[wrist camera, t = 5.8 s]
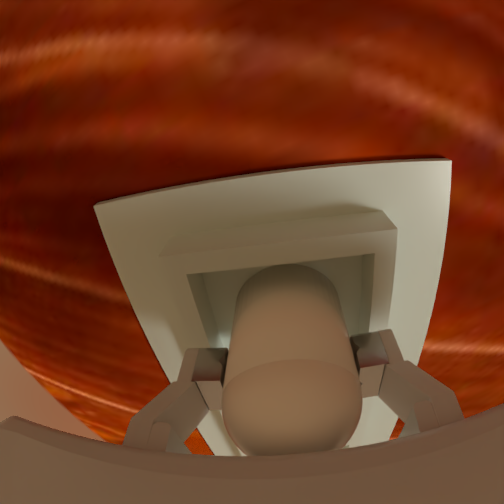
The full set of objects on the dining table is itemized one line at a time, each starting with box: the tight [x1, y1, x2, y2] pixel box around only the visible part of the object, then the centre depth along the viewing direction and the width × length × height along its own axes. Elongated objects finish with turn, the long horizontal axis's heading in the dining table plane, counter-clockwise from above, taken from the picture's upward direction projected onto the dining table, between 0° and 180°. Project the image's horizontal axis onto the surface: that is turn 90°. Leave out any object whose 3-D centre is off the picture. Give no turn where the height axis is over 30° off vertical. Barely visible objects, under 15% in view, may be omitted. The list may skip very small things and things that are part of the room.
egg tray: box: [93, 158, 452, 456], centre depth 16 cm, size 26×14×2 cm, turn 9°
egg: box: [221, 264, 363, 456], centre depth 10 cm, size 4×4×7 cm
